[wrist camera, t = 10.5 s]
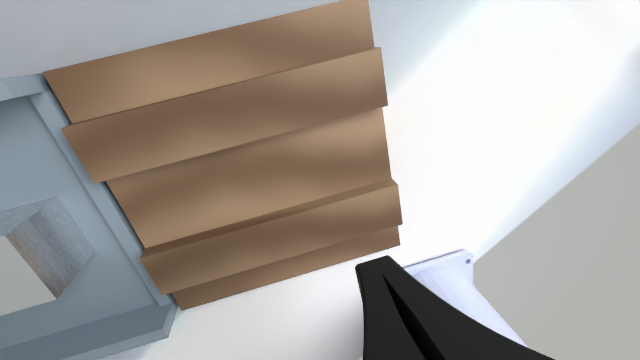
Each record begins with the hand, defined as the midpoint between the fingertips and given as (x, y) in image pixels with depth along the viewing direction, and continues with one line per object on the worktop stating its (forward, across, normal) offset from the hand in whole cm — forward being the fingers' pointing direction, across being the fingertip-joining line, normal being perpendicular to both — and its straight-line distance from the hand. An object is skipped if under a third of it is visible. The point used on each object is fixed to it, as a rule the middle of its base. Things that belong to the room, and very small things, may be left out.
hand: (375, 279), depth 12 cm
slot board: (+9, +4, -2) cm, 10 cm away
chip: (+9, +17, -2) cm, 19 cm away
